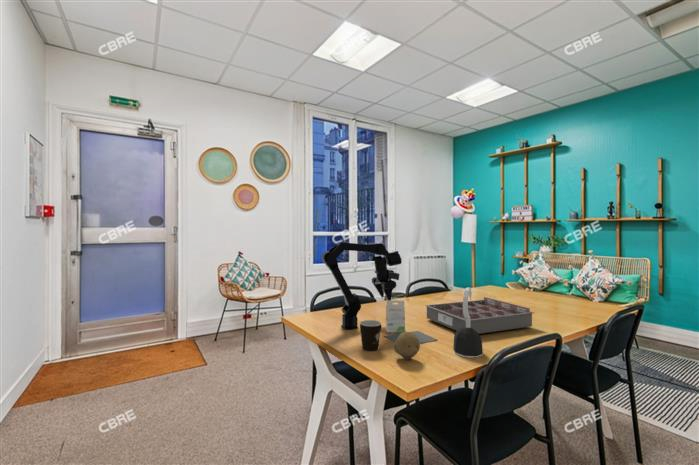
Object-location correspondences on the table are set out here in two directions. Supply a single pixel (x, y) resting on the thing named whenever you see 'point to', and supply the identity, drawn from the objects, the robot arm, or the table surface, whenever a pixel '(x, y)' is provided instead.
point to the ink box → (395, 316)
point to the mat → (421, 336)
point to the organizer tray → (481, 315)
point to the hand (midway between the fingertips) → (386, 299)
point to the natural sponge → (407, 345)
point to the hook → (467, 334)
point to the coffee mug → (370, 334)
